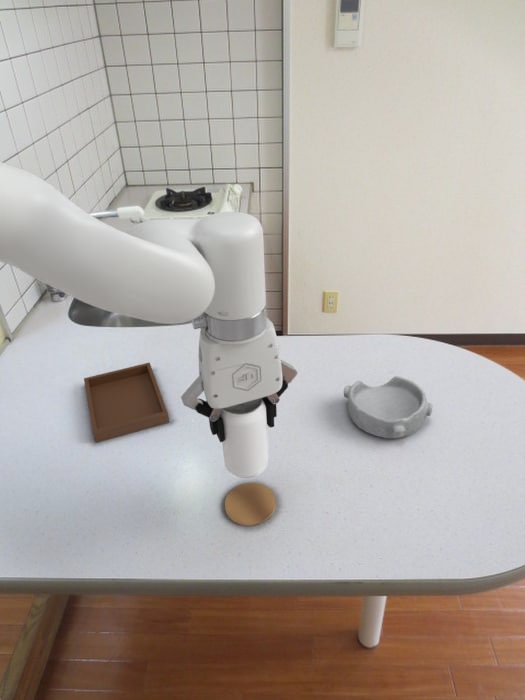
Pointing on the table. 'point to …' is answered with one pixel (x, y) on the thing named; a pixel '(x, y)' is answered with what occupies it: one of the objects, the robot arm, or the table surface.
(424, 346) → the table surface
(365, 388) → the dish
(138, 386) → the tray
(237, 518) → the coaster
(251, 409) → the can
